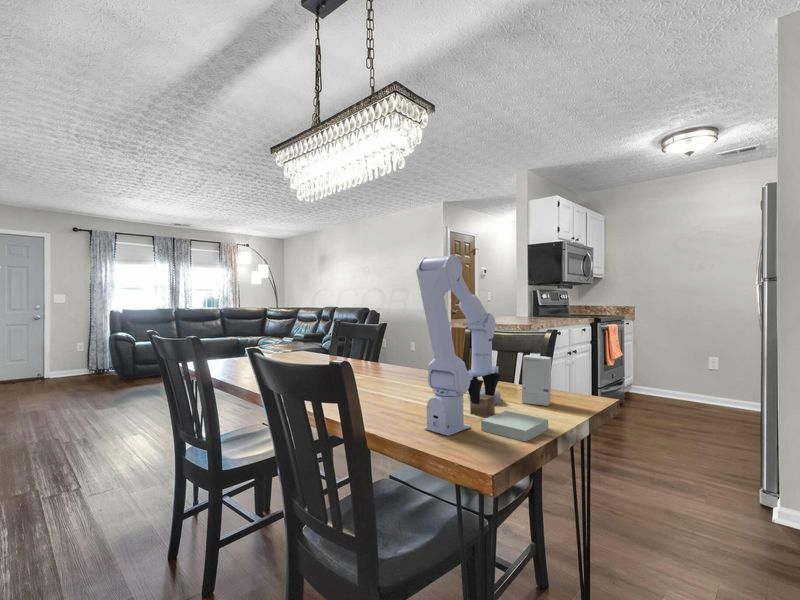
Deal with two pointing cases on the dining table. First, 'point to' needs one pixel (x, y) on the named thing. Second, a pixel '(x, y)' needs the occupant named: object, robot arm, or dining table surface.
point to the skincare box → (536, 380)
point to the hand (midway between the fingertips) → (482, 401)
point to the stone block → (496, 395)
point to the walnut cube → (483, 406)
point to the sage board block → (515, 425)
